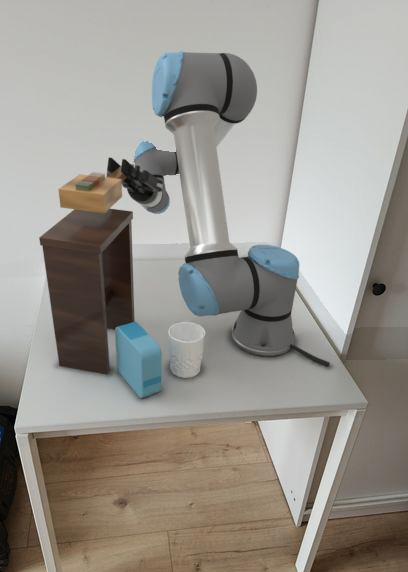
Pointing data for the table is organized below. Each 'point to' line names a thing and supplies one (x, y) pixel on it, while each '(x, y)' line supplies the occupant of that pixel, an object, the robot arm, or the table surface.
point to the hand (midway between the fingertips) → (116, 164)
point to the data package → (138, 359)
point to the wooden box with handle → (92, 191)
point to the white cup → (186, 348)
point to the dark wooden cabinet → (89, 284)
